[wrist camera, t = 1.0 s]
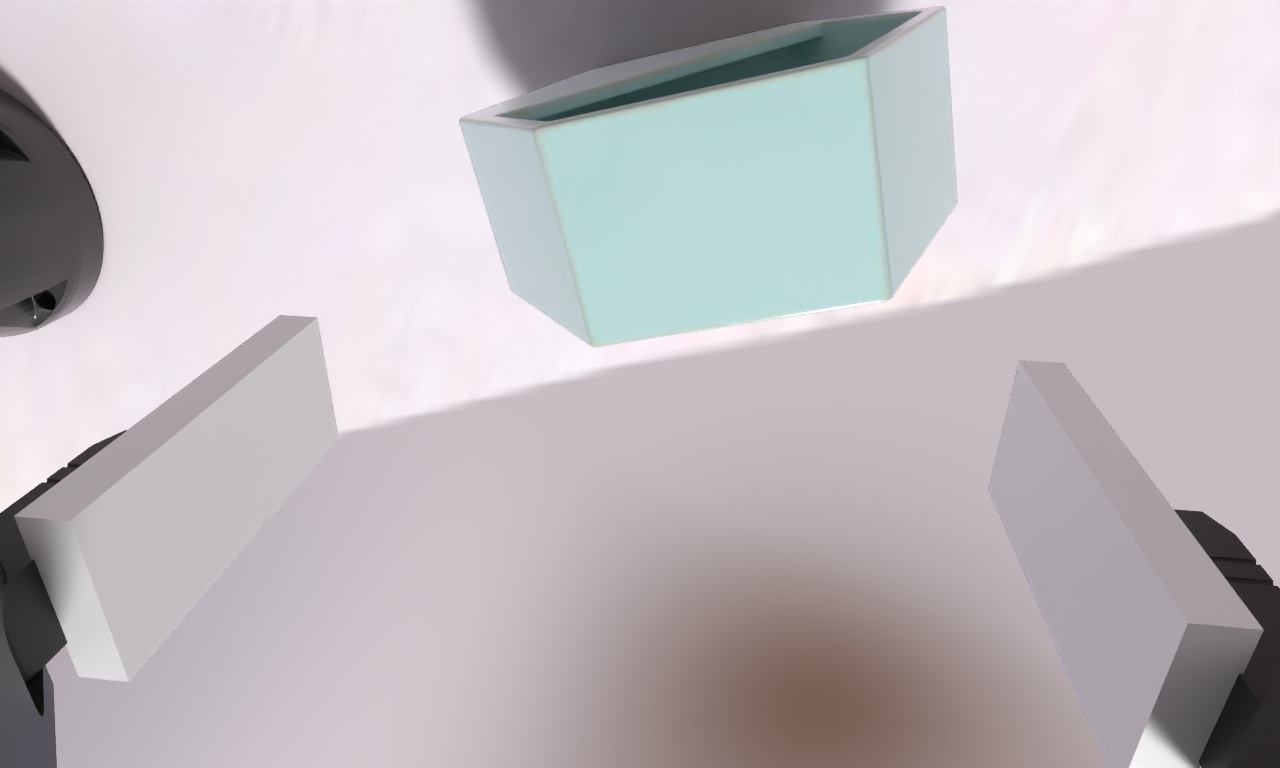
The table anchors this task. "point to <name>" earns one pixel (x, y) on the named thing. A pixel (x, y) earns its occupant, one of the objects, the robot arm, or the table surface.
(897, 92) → the planter
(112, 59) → the table surface
